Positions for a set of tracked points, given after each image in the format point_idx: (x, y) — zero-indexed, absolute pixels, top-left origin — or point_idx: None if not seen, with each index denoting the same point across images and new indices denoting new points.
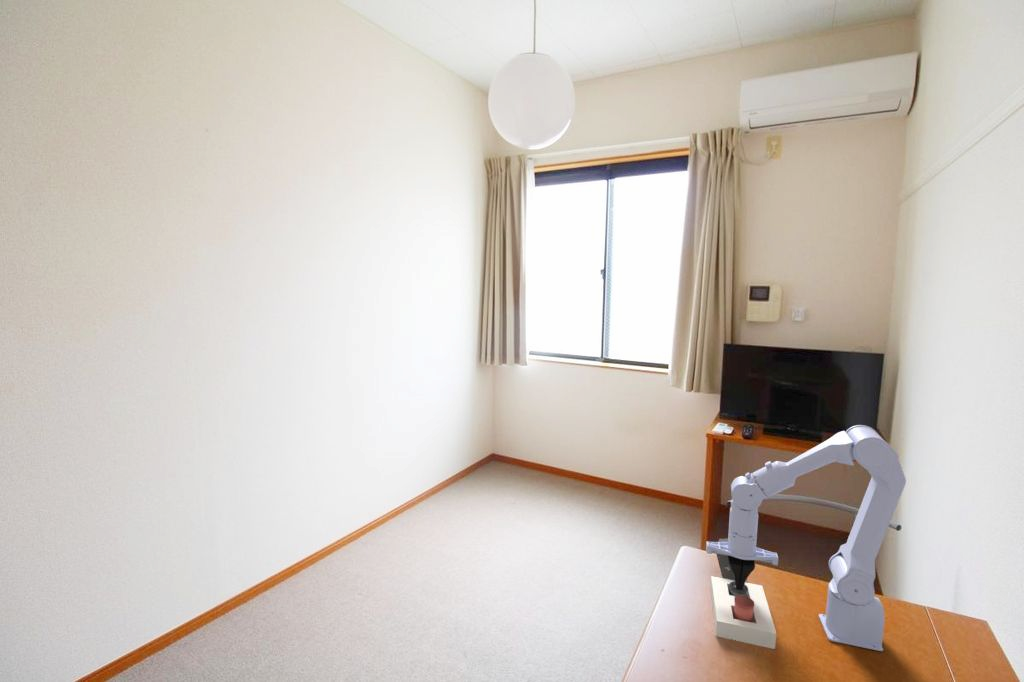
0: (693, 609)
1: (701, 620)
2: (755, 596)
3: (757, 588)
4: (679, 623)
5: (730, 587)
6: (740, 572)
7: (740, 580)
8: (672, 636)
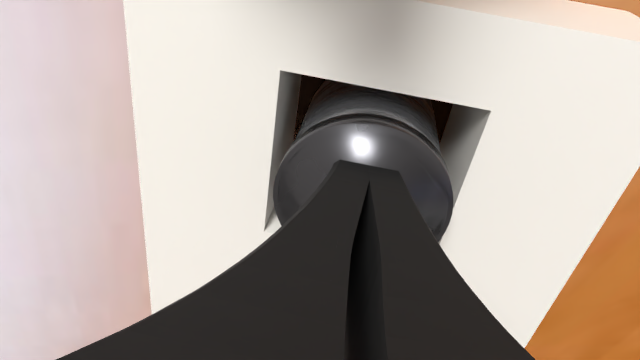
0: (83, 181)
1: (130, 254)
2: (496, 232)
3: (601, 116)
4: (34, 275)
5: (276, 208)
6: (360, 327)
7: (347, 318)
8: (25, 334)
